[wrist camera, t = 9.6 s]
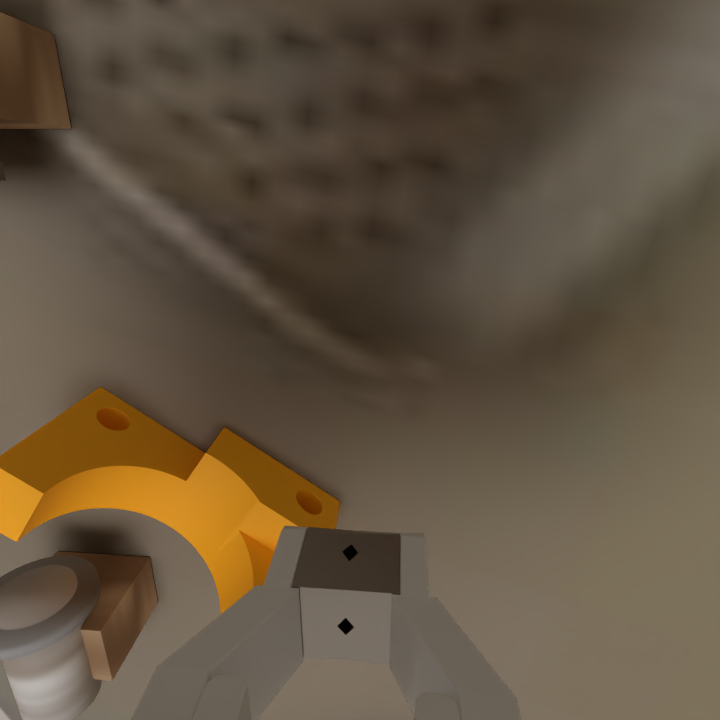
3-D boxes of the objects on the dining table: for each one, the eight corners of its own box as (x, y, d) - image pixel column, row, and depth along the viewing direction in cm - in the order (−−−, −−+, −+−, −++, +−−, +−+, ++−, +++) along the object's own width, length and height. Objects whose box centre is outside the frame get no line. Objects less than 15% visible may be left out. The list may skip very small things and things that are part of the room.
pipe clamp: (341, 499, 23) (319, 612, 17) (292, 555, 25) (256, 678, 19) (119, 356, 21) (8, 425, 15) (80, 425, 23) (-35, 513, 17)
